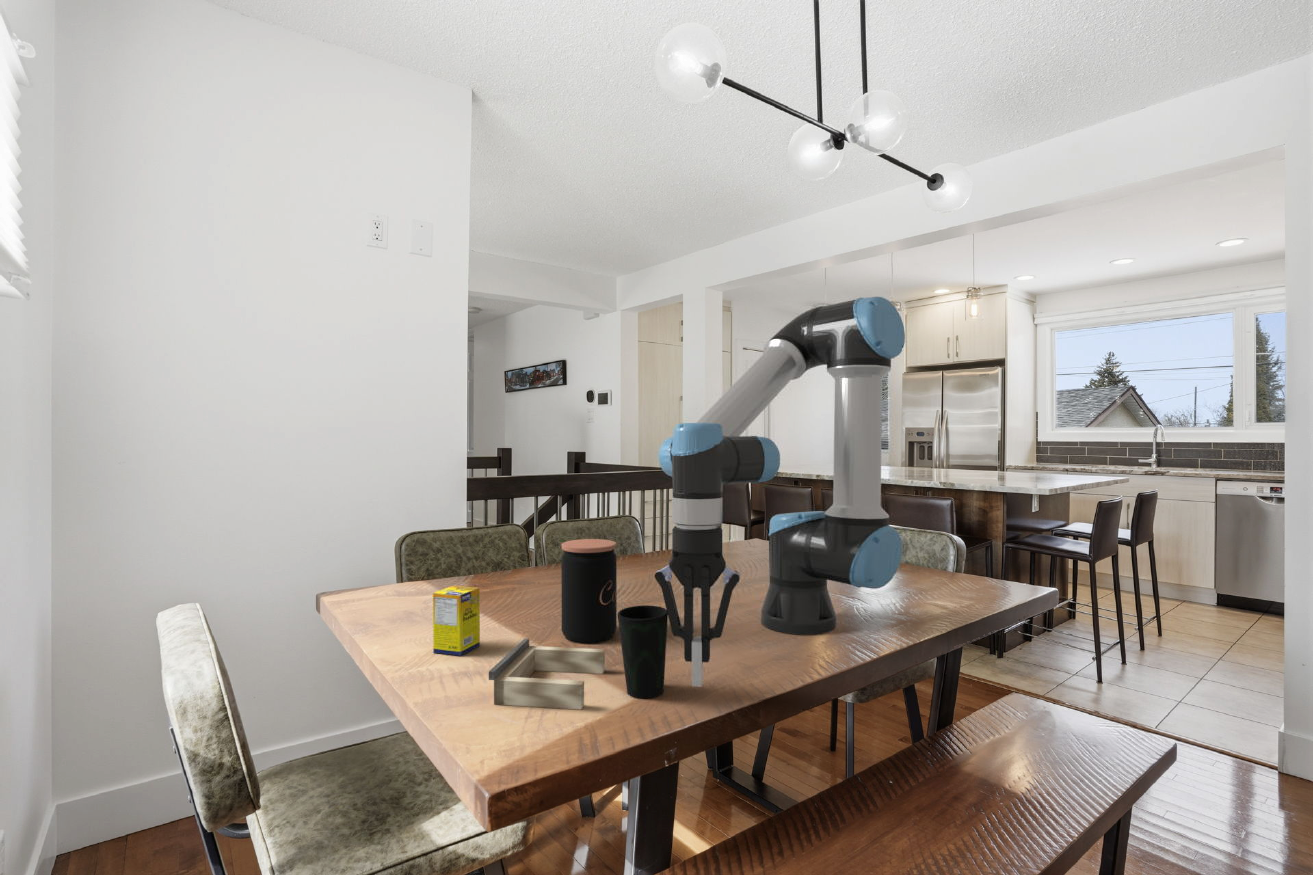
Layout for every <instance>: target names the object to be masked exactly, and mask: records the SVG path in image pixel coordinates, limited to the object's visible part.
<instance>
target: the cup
mask: <svg viewBox="0 0 1313 875" xmlns="http://www.w3.org/2000/svg"><path fill="white" fill-rule="evenodd" d="M668 621H669V618H668V613H667V609H666V607H665V608H664V607H661V606H658V605H647V604H646V605H642V604H641V605H634V606H628V607H623V608H622V609H619V611H618V612H617V623H618V630H619V636H620V646H621V653H622V661H623V669H624V679H625V685H626V693H627V695H628V696H629V697H632V698H635V699H653V698H656V697H659V696H661V695H662V694H663V693H664V688H665V675H666V674H665V673H666V671H665V670H666V657H667V656H666V655H667V654H666V653H667V637H668V635H667V633H668Z"/></svg>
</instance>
